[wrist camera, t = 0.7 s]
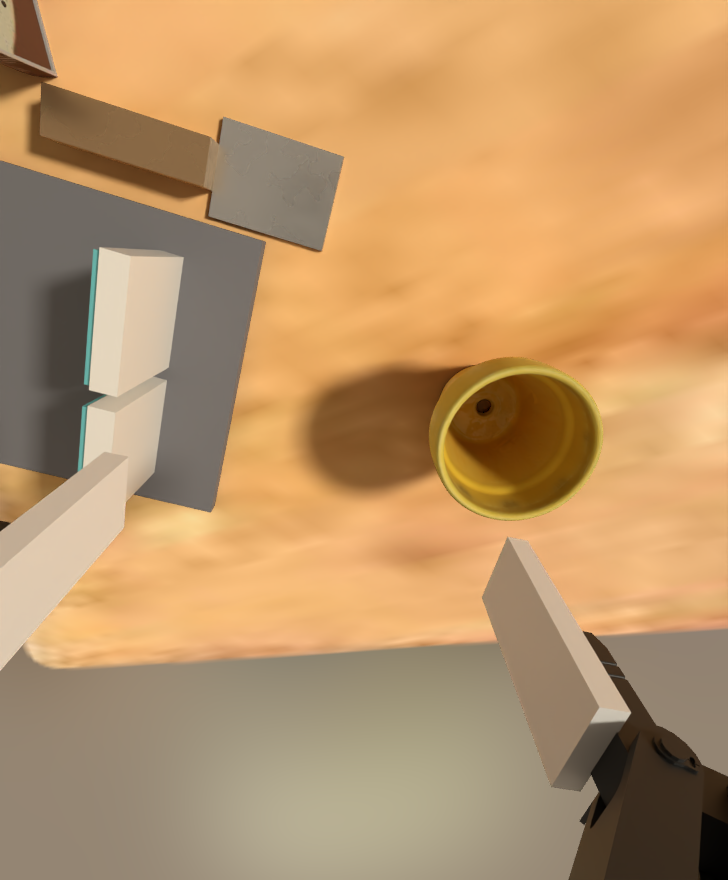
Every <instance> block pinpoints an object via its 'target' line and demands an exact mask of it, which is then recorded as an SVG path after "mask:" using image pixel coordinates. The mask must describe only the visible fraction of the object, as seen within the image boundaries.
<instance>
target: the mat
mask: <svg viewBox="0 0 728 880" xmlns="http://www.w3.org/2000/svg"><path fill="white" fill-rule="evenodd" d="M265 243H266V242H265V241H262V240H258V239H255V238H252V237H248V236H245V235H242V234H239V233H235V232H232V231H229V230H226V229H222V228H219V227H216V226H213V225H209V224H206V223H203V222H199V221H196V220H193V219H190V218H186V217H183V216H180V215H177V214H173V213H170V212H167V211H164V210H160V209H157V208H154V207H151V206H147V205H144V204H141V203H137V202H134V201H131V200H128V199H124V198H121V197H118V196H115V195H111V194H108V193H105V192H102V191H98V190H95V189H92V188H89V187H85V186H82V185H79V184H75V183H72V182H69V181H66V180H62V179H59V178H56V177H53V176H49V175H46V174H43V173H40V172H36V171H33V170H30V169H27V168H23V167H20V166H17V165H13V164H10V163H7V162H4V161H0V463H2V464H6V465H10V466H15V467H19V468H23V469H28V470H32V471H36V472H40V473H45V474H49V475H53V476H57V477H62V478H66V479H70V478H71V477H72V476H73V475H75V474H76V473H77V472H78V461H79V447H80V433H81V419H82V406H84V405H86V404H87V403H89V402H91V401H93V400H95V399H97V398H99V397H101V396H102V395H104V394H102V393H98V392H95V391H91V390H89V385H85V384H84V376H85V361H86V347H87V333H88V319H89V304H90V290H91V276H92V262H93V249H99V247H107V248H126V249H146V250H161V251H165V252H168V253H171V254H175V255H178V256H181V257H184V259H183V267H182V274H181V281H180V289H179V296H178V303H177V311H176V318H175V325H174V333H173V340H172V347H171V355H170V362H169V368H167V369H165V370H164V371H162V372H160V373H158V374H157V375H155V376H153V377H157V378H161V379H164V380H167V384H166V391H165V399H164V406H163V413H162V421H161V428H160V435H159V443H158V450H157V457H156V465H155V472H154V473H153V474H152V475H151V476H150V478H149V479H148V480H147V481H146V482H145V483H144V484H143V485H142V486H141V487H140V488H139V489H138V490H137V491H136V492H135V493H134V495H138V496H143V497H147V498H151V499H156V500H160V501H164V502H168V503H173V504H177V505H181V506H185V507H190V508H194V509H198V510H202V511H207V512H211V511H212V509H213V507H214V506H215V501H216V496H217V491H218V486H219V481H220V475H221V470H222V465H223V460H224V455H225V450H226V445H227V439H228V434H229V429H230V424H231V419H232V414H233V408H234V403H235V398H236V393H237V388H238V383H239V378H240V372H241V367H242V362H243V357H244V352H245V347H246V341H247V336H248V331H249V326H250V321H251V316H252V310H253V305H254V300H255V295H256V290H257V285H258V280H259V274H260V269H261V264H262V259H263V254H264V249H265Z"/></svg>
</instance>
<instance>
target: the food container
mask: <svg viewBox="0 0 728 880" xmlns="http://www.w3.org/2000/svg"><path fill="white" fill-rule="evenodd" d="M0 64H3V65H6V66H8V67H11V68H13V69H16V70H18V71H21V72H24V73H27V74H30V75H33V76H39V77H57V73H56V70H55V66H54V62H53V58H52V55H51V51H50V47H49V43H48V40H47V36H46V32H45V29H44V25H43V21H42V17H41V14H40V10H39V6H38V2H37V0H0Z"/></svg>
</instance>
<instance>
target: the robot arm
mask: <svg viewBox="0 0 728 880" xmlns="http://www.w3.org/2000/svg"><path fill="white" fill-rule="evenodd" d="M128 459H129V457H127V456H122V455H118V454H113V453H108V452H103V453H102V454H101V455H100V456H98V457H97V458H96V459H94V460H93V461H92V462H90V463H89V464H88V465H87V466H85V467H84V468H83V469H81V470H80V471H79V472H77V473H76V474H75V475H73V476H72V477H71V478H70V479H68V480H67V481H66V482H64V483H63V484H62V485H60V486H59V487H58V488H57V489H55V490H54V491H53V492H51V493H50V494H49V495H47V496H46V497H45V498H43V499H42V500H41V501H40V502H38V503H37V504H36V505H34V506H33V507H32V508H30V509H29V510H28V511H26V512H25V513H24V514H23V515H21V516H20V517H19V518H17V519H16V520H15V521H13V522H12V523H9V522H4V521H0V670H1V669H2V668H3V667H4V666H5V665H6V663H7V662H8V661H9V660H10V659H11V657H12V656H13V655H14V654H15V653H16V652H17V651H18V649H19V648H20V647H21V646H22V645H23V644H24V643H25V642H26V640H27V639H28V638H29V637H30V636H31V635H32V633H33V632H34V631H35V630H36V629H37V628H38V626H39V625H40V624H41V623H42V622H43V621H44V620H45V618H46V617H47V616H48V615H49V614H50V613H51V611H52V610H53V609H54V608H55V607H56V606H57V605H58V603H59V602H60V601H61V600H62V599H63V598H64V596H65V595H66V594H67V593H68V592H69V591H70V590H71V588H72V587H73V586H74V585H75V584H76V583H77V581H78V580H79V579H80V578H81V577H82V576H83V574H84V573H85V572H86V571H87V570H88V569H89V568H90V566H91V565H92V564H93V563H94V562H95V561H96V559H97V558H98V557H99V556H100V555H101V554H102V553H103V551H104V550H105V549H106V548H107V547H108V546H109V544H110V543H111V542H112V541H113V540H114V539H115V537H116V536H117V535H118V534H119V533H120V532H121V531H122V529H123V528H124V520H125V505H126V490H127V474H128ZM482 599H483V602H484V605H485V608H486V610H487V613H488V616H489V618H490V621H491V624H492V627H493V629H494V632H495V635H496V638H497V640H498V643H499V646H500V649H501V651H502V654H503V657H504V659H505V662H506V665H507V668H508V670H509V673H510V676H511V679H512V681H513V684H514V687H515V689H516V692H517V695H518V698H519V700H520V703H521V706H522V709H523V711H524V714H525V717H526V720H527V722H528V725H529V728H530V730H531V733H532V736H533V739H534V741H535V744H536V747H537V749H538V752H539V755H540V758H541V761H542V763H543V766H544V769H545V771H546V774H547V777H548V780H549V782H550V785H551V787H555V788H562V789H568V790H574V791H581V790H582V788H583V787H584V785H585V784H586V782H587V781H588V779H589V777H590V776H591V775H592V777H593V780H594V782H595V784H596V786H597V788H598V791H599V793H598V794H597V796H596V797H595V799H594V800H593V802H592V803H591V805H590V806H589V808H588V809H587V811H586V812H585V814H584V815H583V817H582V818H581V820H580V822H581V823H582V824H585V823H586V825H585V828H584V831H583V835H582V838H581V841H580V844H579V847H578V851H577V854H576V857H575V861H574V864H573V867H572V870H571V873H570V877H569V880H728V777H727V776H725V775H723V774H721V773H718V772H717V771H714V770H712V769H710V768H708V767H706V766H703V765H702V764H701V763H700V761H699V759H698V757H697V756H696V754H695V753H694V752H693V751H692V750H691V749H690V747H689V746H687V744H686V743H685V742H684V741H682V740H681V739H680V738H679V737H677V736H676V735H675V734H674V733H672V732H670V731H668V730H666V729H664V728H663V727H659V726H656V724H655V723H654V721H653V720H652V718H651V717H650V715H649V713H648V712H647V710H646V709H645V707H644V706H643V704H642V702H641V701H640V699H639V698H638V696H637V695H636V693H635V691H634V690H633V688H632V687H631V685H630V684H629V682H628V681H627V680H625V676H624V674H623V673H622V671H621V670H620V668H619V667H617V663H616V662H615V661H614V659H613V657H612V656H611V654H610V653H609V651H608V649H607V648H606V647H605V646H604V645H603V644H602V643H601V642H600V641H599V640H598V639H597V638H596V637H595V636H594V635H593V634H592V633H589V632H584V631H582V630H581V628H580V627H579V625H578V623H577V622H576V620H575V618H574V617H573V615H572V613H571V612H570V610H569V608H568V607H567V605H566V603H565V602H564V600H563V598H562V597H561V595H560V593H559V592H558V590H557V588H556V587H555V585H554V583H553V582H552V580H551V578H550V577H549V575H548V573H547V572H546V570H545V569H544V567H543V565H542V564H541V562H540V560H539V559H538V557H537V555H536V554H535V552H534V550H533V549H532V547H531V545H530V544H529V542H528V541H526V540H521V539H516V538H512V537H507V539H506V542H505V544H504V547H503V549H502V551H501V554H500V556H499V558H498V561H497V563H496V565H495V568H494V570H493V572H492V575H491V577H490V580H489V582H488V584H487V587H486V589H485V591H484V594H483V596H482Z"/></svg>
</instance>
